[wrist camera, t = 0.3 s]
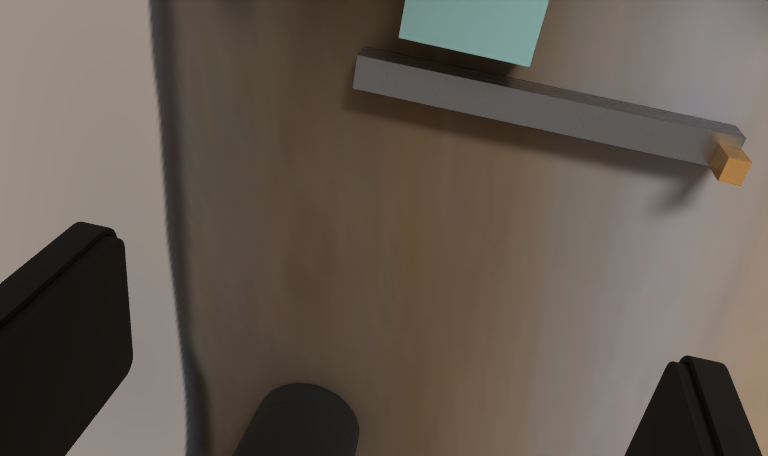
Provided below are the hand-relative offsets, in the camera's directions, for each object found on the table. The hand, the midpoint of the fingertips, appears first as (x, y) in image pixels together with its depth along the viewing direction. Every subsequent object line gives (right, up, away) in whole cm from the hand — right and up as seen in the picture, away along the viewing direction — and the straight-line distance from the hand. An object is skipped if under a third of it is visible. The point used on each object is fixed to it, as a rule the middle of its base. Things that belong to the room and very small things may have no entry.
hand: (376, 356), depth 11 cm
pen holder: (-6, -14, +45) cm, 47 cm away
